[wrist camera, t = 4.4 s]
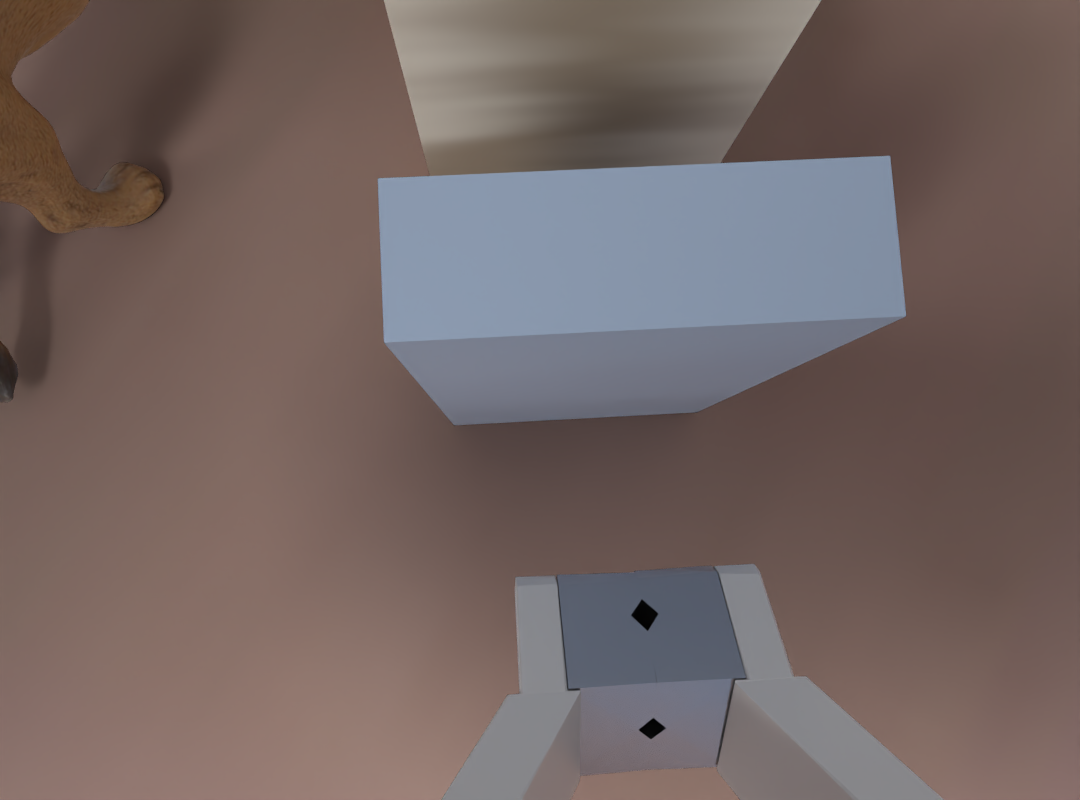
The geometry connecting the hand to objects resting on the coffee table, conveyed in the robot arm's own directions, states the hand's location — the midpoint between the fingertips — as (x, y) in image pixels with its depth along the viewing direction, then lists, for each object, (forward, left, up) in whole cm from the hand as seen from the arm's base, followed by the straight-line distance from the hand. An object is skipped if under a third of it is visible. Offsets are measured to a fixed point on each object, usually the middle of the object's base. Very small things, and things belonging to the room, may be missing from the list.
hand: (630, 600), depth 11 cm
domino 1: (0, +8, -7) cm, 10 cm away
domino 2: (0, +4, -7) cm, 8 cm away
